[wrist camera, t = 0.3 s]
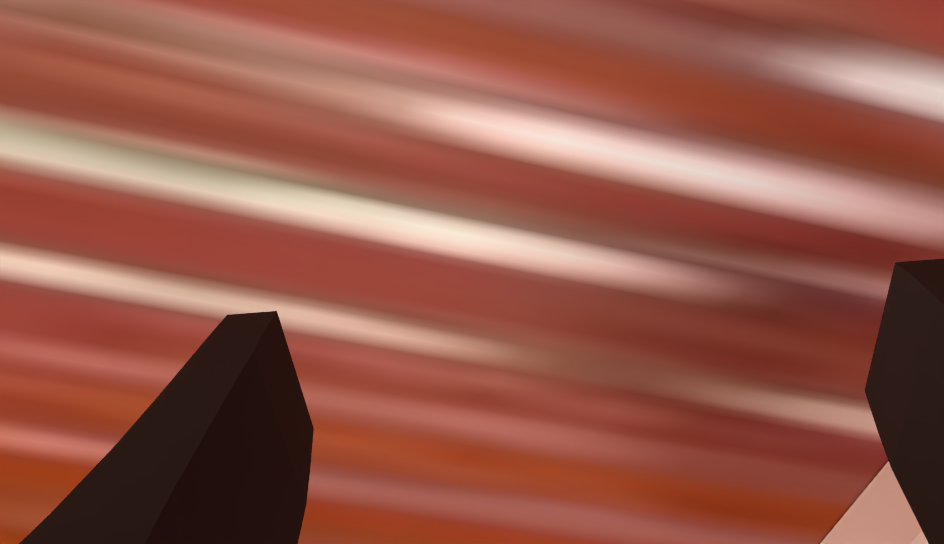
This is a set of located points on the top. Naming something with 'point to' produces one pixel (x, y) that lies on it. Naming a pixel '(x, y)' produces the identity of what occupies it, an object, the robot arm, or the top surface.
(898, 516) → the rack
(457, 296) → the top surface
